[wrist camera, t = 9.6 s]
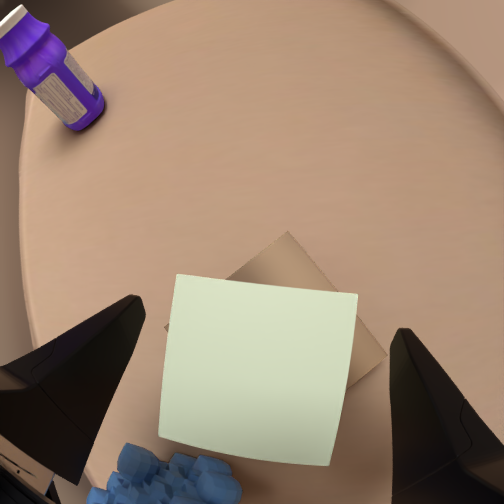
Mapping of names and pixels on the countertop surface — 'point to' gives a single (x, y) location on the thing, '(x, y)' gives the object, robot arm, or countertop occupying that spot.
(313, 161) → the countertop surface
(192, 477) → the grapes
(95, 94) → the bottle
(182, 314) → the sage block
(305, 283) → the walnut plinth
